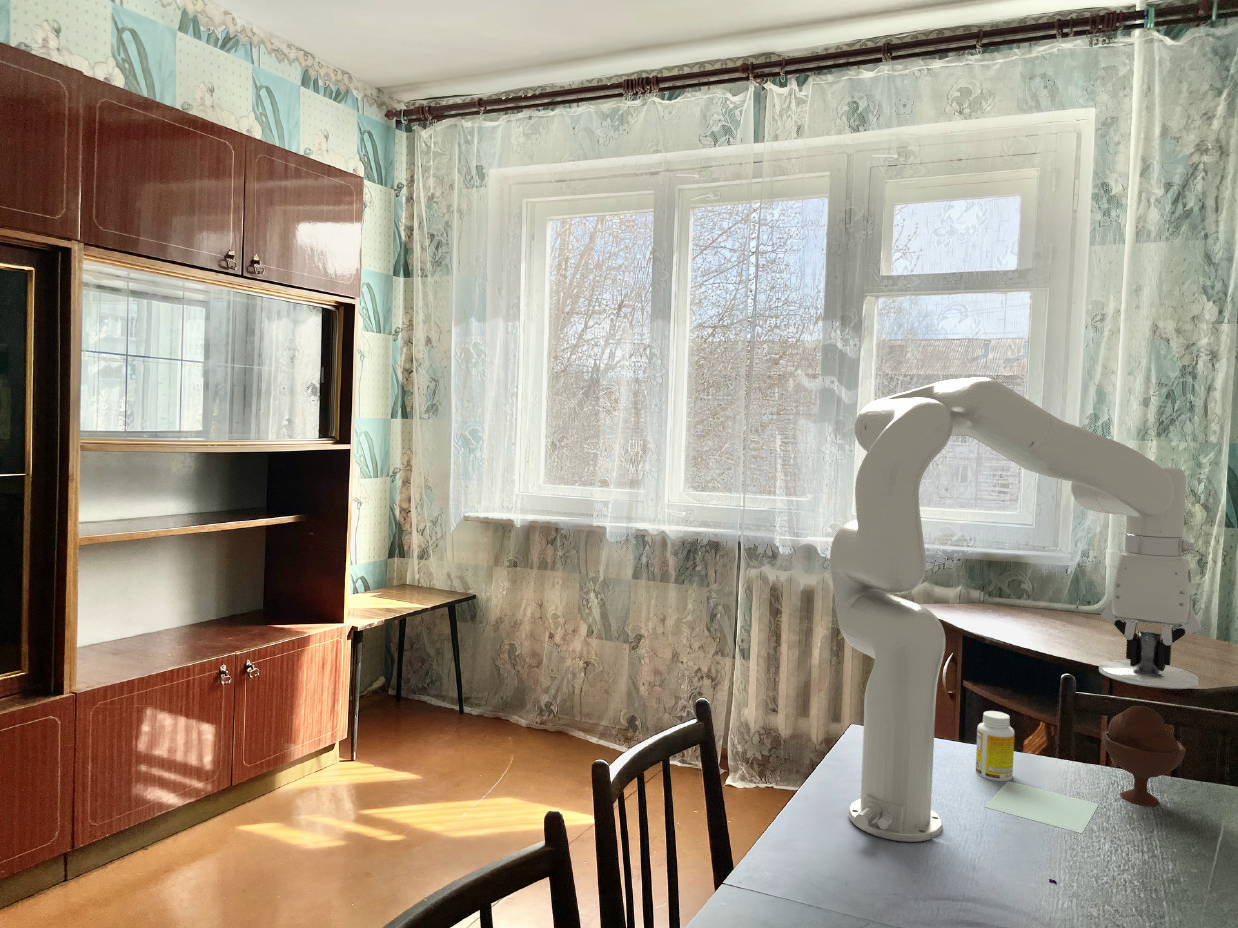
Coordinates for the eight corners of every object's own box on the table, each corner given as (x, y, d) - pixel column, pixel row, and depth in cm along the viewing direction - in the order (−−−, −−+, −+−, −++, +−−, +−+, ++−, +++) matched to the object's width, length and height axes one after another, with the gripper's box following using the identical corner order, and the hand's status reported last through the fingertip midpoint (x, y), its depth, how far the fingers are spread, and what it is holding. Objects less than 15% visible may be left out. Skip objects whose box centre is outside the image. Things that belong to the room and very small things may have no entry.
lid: (1193, 694, 125) (1196, 647, 125) (1091, 677, 133) (1093, 632, 133) (1202, 675, 136) (1204, 631, 135) (1106, 660, 144) (1108, 619, 143)
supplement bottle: (1020, 780, 142) (1023, 717, 142) (995, 785, 140) (998, 721, 139) (991, 768, 147) (994, 707, 147) (967, 772, 145) (970, 711, 144)
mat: (1081, 836, 123) (1082, 833, 123) (984, 809, 130) (984, 806, 130) (1099, 806, 133) (1099, 803, 133) (1007, 783, 141) (1007, 780, 141)
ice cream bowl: (1198, 817, 130) (1204, 717, 129) (1121, 814, 130) (1127, 714, 129) (1156, 788, 140) (1161, 695, 140) (1085, 786, 141) (1090, 693, 140)
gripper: (1220, 550, 132) (1214, 671, 132) (1097, 539, 142) (1092, 653, 142) (1216, 555, 126) (1209, 682, 126) (1088, 543, 136) (1083, 662, 136)
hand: (1147, 665), depth 134 cm, fingers closed on lid, 3 cm apart
